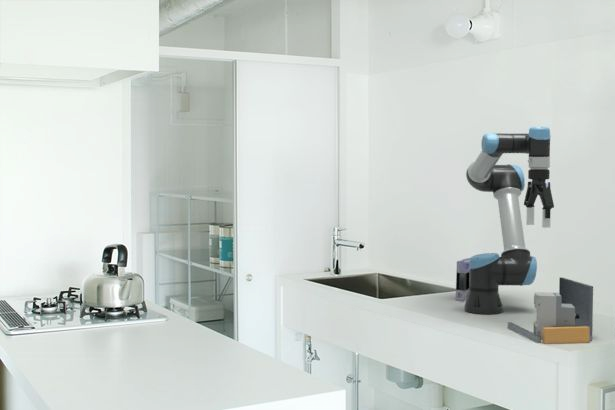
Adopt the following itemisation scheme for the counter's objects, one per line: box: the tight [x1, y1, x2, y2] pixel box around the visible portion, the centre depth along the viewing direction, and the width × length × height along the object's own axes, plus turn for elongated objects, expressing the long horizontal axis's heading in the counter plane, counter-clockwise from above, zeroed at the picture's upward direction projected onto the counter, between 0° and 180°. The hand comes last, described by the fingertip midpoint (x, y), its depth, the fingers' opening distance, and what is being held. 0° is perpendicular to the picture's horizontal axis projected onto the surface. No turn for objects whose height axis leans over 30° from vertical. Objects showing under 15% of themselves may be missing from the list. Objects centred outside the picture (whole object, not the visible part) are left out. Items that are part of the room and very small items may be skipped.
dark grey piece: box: [507, 277, 594, 344], centre depth 270 cm, size 25×21×18 cm
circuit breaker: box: [533, 291, 579, 339], centre depth 264 cm, size 8×14×15 cm, turn 79°
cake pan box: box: [455, 257, 471, 302], centre depth 346 cm, size 19×5×18 cm, turn 147°
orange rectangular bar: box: [541, 326, 590, 344], centre depth 257 cm, size 2×16×5 cm, turn 98°
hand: (538, 226), depth 286 cm, fingers open, 13 cm apart
